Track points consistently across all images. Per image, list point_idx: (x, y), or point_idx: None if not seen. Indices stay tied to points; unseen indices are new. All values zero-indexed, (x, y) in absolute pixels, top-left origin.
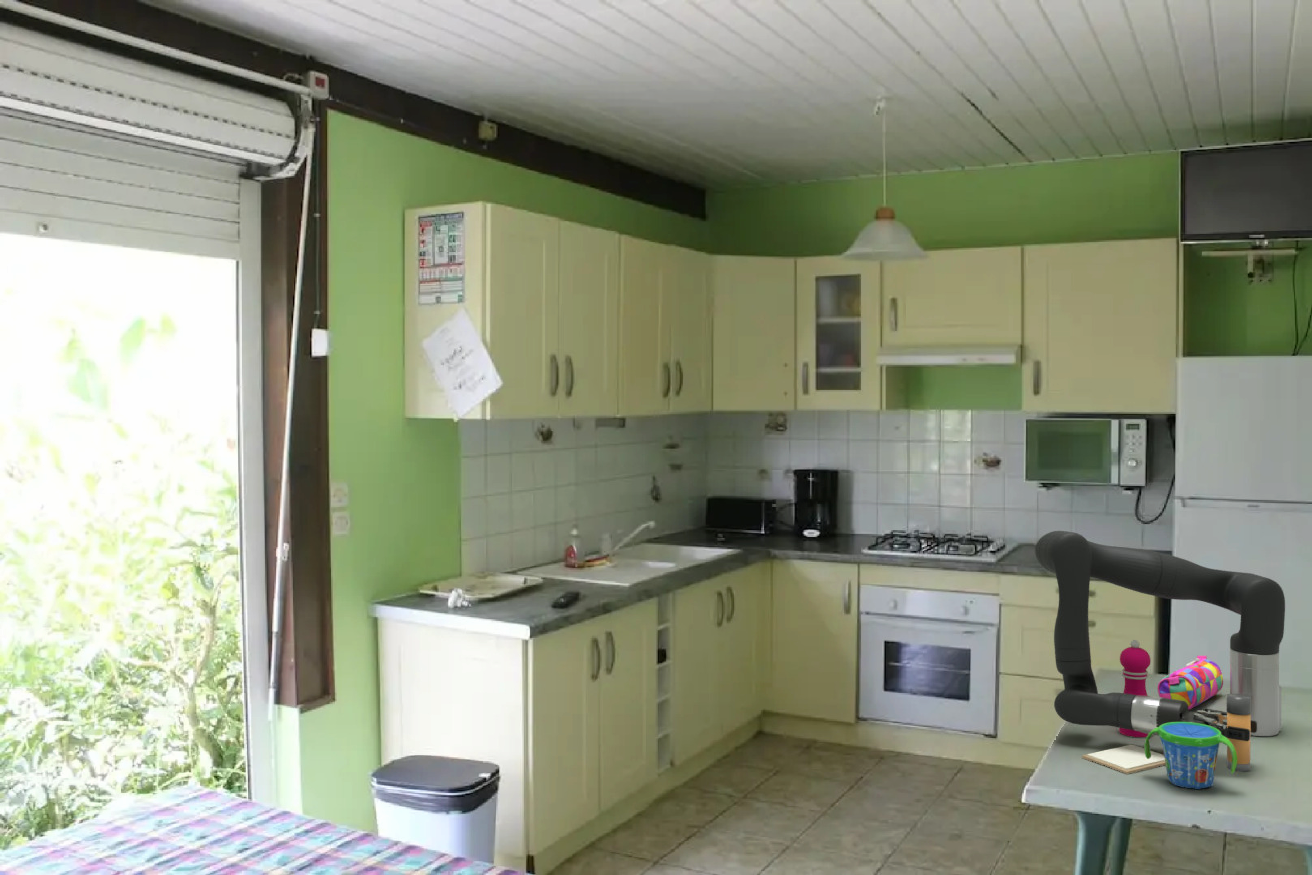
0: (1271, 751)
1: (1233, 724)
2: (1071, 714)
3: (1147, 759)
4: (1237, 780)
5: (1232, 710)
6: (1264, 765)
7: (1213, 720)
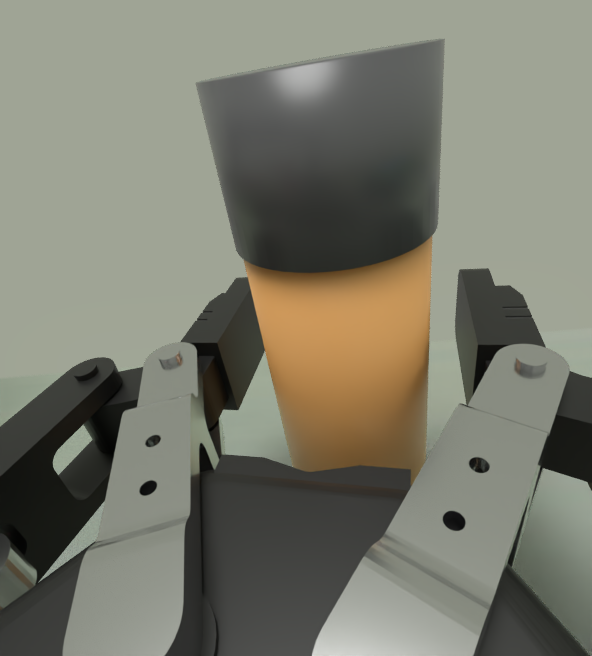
0: (75, 434)
1: (425, 322)
2: None
3: None
4: (586, 515)
5: (435, 199)
6: (265, 438)
7: (505, 423)
